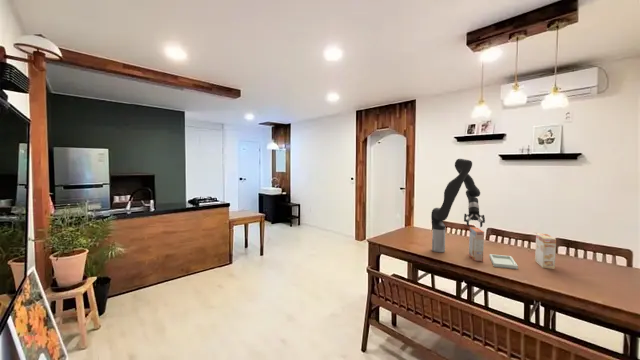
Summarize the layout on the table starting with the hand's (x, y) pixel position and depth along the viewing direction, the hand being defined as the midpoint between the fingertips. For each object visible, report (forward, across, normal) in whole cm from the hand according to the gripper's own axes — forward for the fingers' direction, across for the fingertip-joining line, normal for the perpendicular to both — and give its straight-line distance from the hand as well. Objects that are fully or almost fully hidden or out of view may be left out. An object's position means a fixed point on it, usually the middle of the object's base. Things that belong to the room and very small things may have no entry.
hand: (474, 226), depth 226 cm
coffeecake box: (+24, +41, +5) cm, 48 cm away
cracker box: (+25, 0, +3) cm, 25 cm away
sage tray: (+28, +16, 0) cm, 32 cm away
